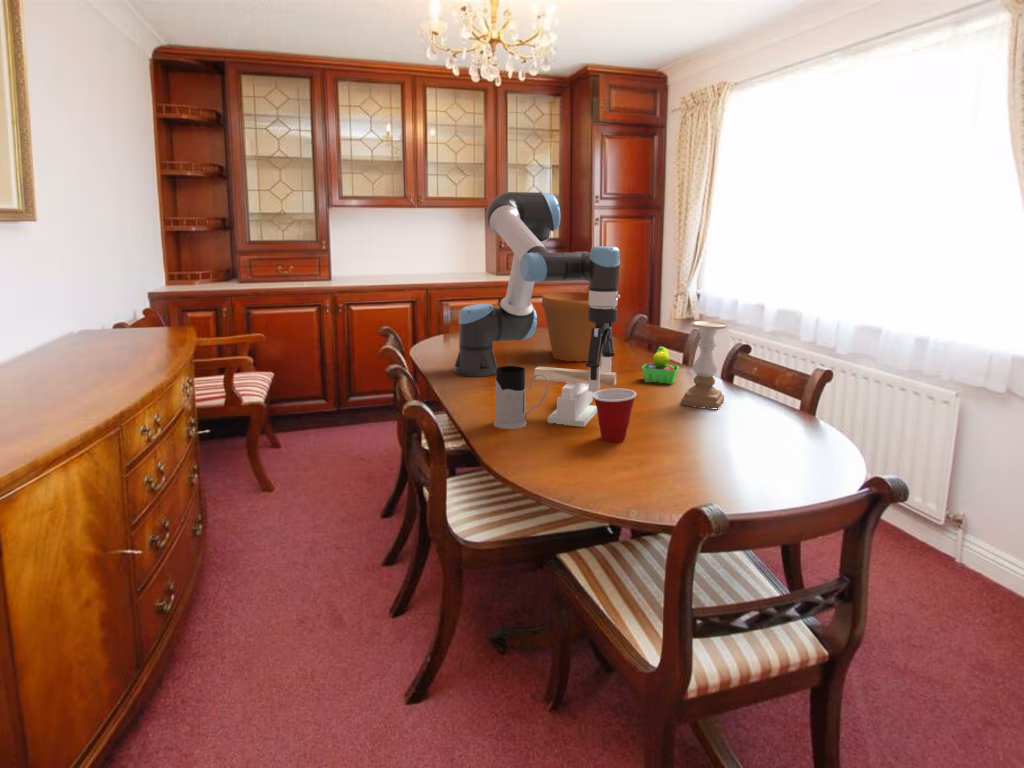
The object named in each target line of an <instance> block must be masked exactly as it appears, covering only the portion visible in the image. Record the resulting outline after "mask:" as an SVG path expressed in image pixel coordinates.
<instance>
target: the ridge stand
mask: <svg viewBox="0 0 1024 768" xmlns="http://www.w3.org/2000/svg"><path fill="white" fill-rule="evenodd" d="M588 387H589V386H586V384H582V383H571V382H568V383H567V384H564V386H563V387H561V394H560V395H559V396H558V397H557V398H556V409H555V410H554V411H553V412H552V413H550V414H549V415H548V416H547V421H546V423H547V422H548V424H553V423H556V425H562V424H563V426H571V427H581V428H584V427H586V425H587V424H588V423H589V422H590V421H591V419H593V417H594V416H595V415H596V414H598V412H597V407H596V405H591V403H590V391H588Z"/></svg>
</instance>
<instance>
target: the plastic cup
mask: <svg viewBox="0 0 1024 768" xmlns="http://www.w3.org/2000/svg"><path fill="white" fill-rule="evenodd" d="M592 397H593V400H594V403H595V406H596V407H597V419H598V425H599V431H600V437H601V440H602V441H604V442H606V441H607V442H606V443H615V442H616V443H622V442H624V441H625V439H626V437H627V432H628V428H629V423H630V418H631V415H632V414H631V413H632V409H633V406H634V402H635V399H636V397H637V392H636V391H634V390H633V389H629V388H620V387H619V388H618V387H617V388H616V387H615V388H604V389H599V391H596V392H593V394H592ZM623 440H624V441H623ZM621 441H622V442H621Z"/></svg>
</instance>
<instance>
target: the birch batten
mask: <svg viewBox="0 0 1024 768" xmlns="http://www.w3.org/2000/svg"><path fill="white" fill-rule="evenodd" d="M537 374H542V375H544V376H546V378H547V379H548V382H560V383H561V382H562V383H566V382H571V383H582V384H589V369H588V370H586V369H571V368H561V367H559V368H558V367H551V366H550V367H548V366H536V367H535V368H534V376H535V375H537ZM546 378H545V377H543V376H540V375H539V376H536V377H535V378H534V380H537V381H547V380H546ZM616 384H617V372H614V371H613V372H612V371H611V372H601V370H600V384H599V386H608V387H614V386H615V385H616Z"/></svg>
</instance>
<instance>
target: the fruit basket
mask: <svg viewBox="0 0 1024 768" xmlns="http://www.w3.org/2000/svg"><path fill="white" fill-rule="evenodd" d="M669 363H670V354H669V350H668V349H667V348H666V347H664V346H659V347H658V348H657V350H656V352H655V353H654V355H653V362H648V363H644V365H642V366H641V370H642V376H643V380H644V382H645V381H646V382H645V383H652V382H660V383H659V384H661V383H669V384H668V385H672V384H673V383H674V382H675V379H676V376H677V374H678V370H679V369H680V366H679V365H671V364H669Z"/></svg>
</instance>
